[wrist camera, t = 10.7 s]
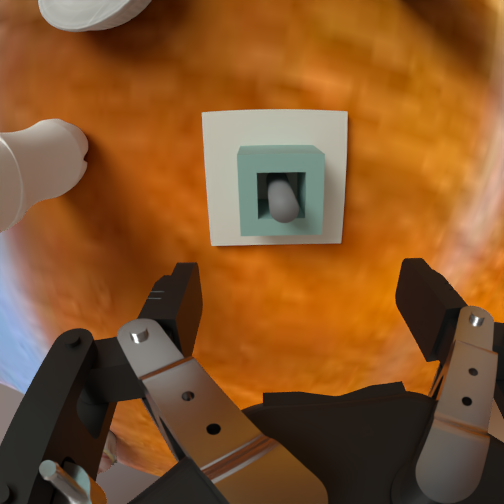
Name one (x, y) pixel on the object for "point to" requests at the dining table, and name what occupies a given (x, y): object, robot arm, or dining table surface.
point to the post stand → (275, 183)
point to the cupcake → (108, 453)
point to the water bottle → (38, 166)
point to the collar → (308, 188)
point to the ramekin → (90, 13)
